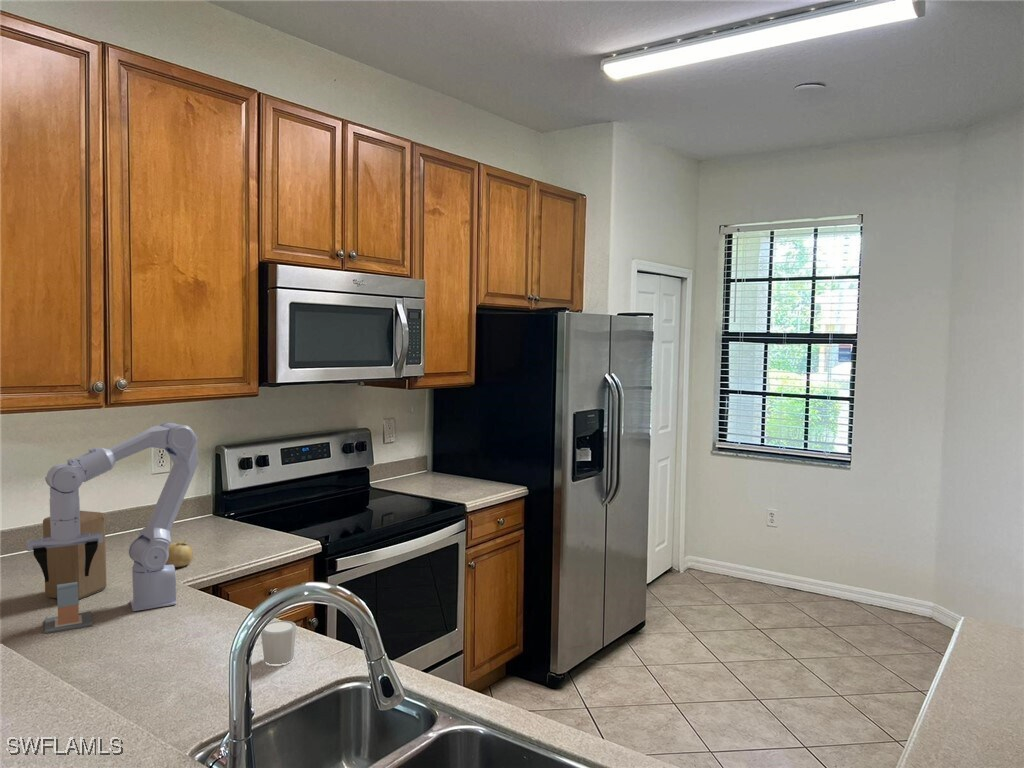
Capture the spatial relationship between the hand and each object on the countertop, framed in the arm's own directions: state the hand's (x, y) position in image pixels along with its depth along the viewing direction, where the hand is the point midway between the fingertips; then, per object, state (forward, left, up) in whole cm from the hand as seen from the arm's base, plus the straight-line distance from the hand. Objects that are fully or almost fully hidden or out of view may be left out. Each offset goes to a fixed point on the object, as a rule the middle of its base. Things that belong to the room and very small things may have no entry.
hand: (67, 577), depth 169 cm
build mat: (0, 0, -10) cm, 10 cm away
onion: (-27, -33, -11) cm, 44 cm away
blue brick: (0, 0, -6) cm, 6 cm away
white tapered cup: (-36, +43, -11) cm, 57 cm away
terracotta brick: (0, 0, -10) cm, 10 cm away
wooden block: (-2, -21, -11) cm, 24 cm away
